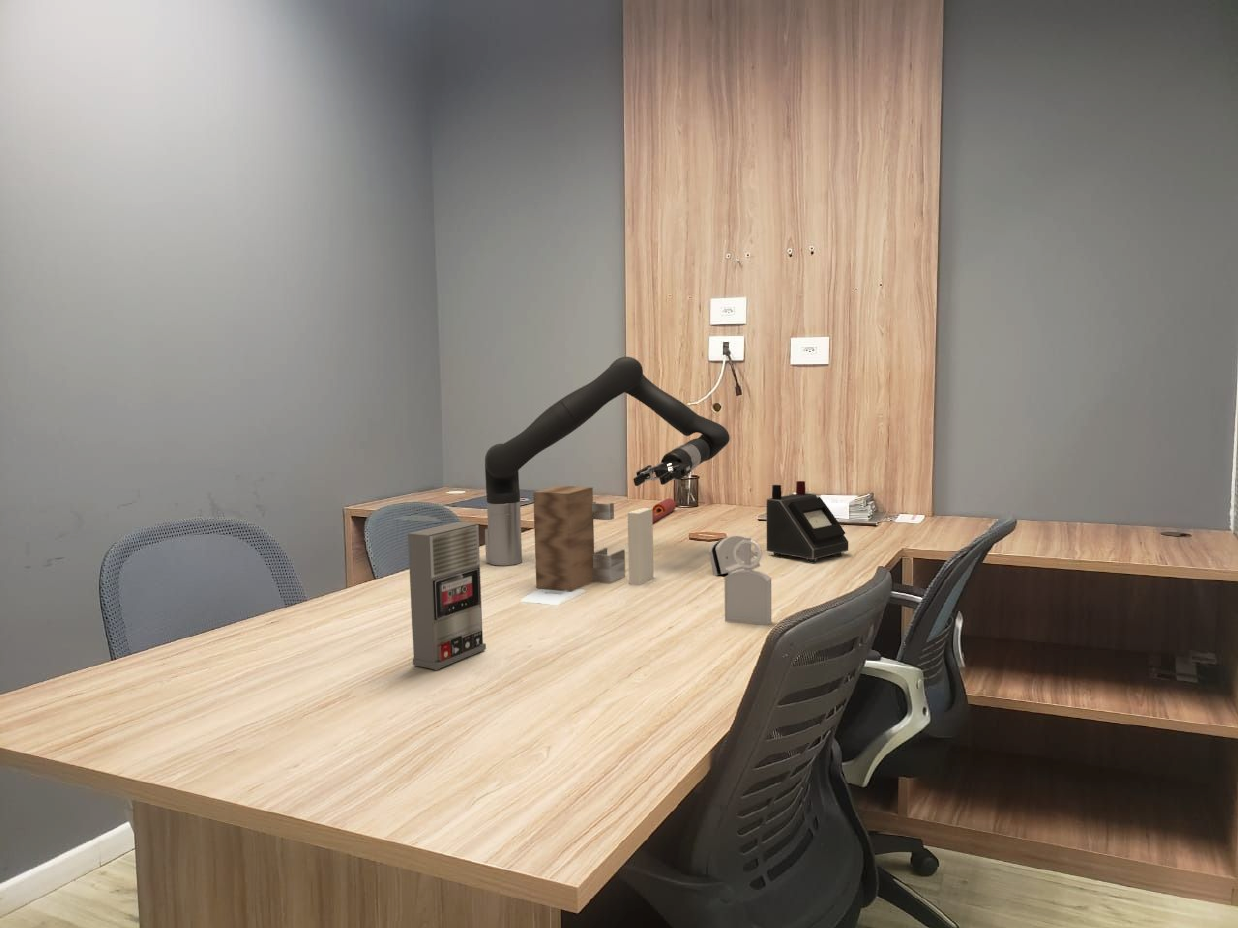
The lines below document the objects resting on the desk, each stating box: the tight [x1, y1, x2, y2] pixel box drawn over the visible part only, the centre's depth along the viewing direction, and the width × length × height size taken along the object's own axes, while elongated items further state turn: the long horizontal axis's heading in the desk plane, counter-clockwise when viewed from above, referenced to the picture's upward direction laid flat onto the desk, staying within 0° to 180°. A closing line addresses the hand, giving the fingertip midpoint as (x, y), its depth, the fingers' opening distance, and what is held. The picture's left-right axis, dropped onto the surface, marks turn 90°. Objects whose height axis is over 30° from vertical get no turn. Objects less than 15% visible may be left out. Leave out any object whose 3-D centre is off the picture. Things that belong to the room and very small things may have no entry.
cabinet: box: [532, 485, 626, 592], centre depth 236 cm, size 15×20×24 cm
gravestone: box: [724, 536, 772, 626], centre depth 197 cm, size 3×9×18 cm, turn 65°
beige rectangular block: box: [627, 507, 654, 586], centre depth 236 cm, size 3×8×18 cm, turn 153°
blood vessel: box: [651, 498, 677, 523], centre depth 328 cm, size 42×5×5 cm, turn 162°
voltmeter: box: [765, 480, 849, 564], centre depth 262 cm, size 16×16×20 cm
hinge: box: [707, 535, 761, 577], centre depth 247 cm, size 17×5×10 cm, turn 144°
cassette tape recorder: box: [407, 521, 487, 671], centre depth 176 cm, size 14×6×25 cm, turn 148°
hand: (648, 481), depth 242 cm, fingers open, 8 cm apart
